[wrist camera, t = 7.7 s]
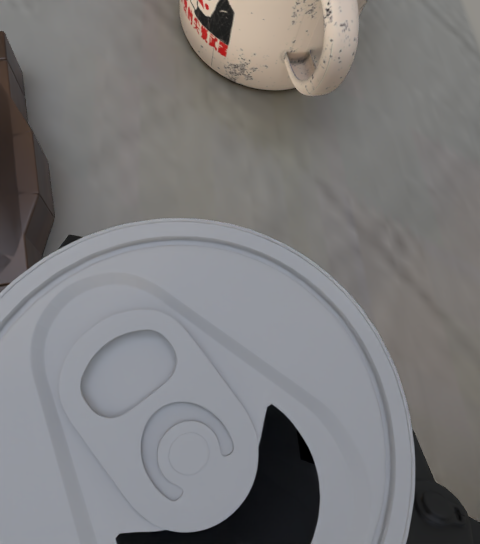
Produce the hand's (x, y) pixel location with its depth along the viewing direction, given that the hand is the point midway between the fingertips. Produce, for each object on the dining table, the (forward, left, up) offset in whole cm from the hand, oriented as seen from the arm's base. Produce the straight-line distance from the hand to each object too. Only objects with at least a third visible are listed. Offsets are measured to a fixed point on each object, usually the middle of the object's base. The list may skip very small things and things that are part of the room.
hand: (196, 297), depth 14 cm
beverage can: (-3, +1, -4) cm, 5 cm away
